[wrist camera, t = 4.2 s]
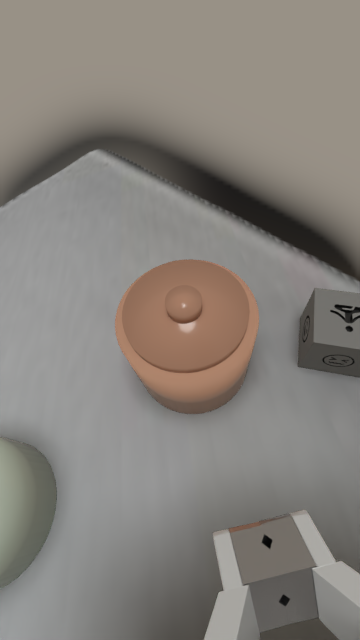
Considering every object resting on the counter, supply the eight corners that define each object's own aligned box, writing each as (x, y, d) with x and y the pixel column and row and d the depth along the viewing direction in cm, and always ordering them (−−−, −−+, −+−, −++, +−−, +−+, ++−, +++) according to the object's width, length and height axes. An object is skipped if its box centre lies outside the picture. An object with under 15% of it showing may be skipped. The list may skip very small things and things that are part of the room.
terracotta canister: (264, 336, 28) (285, 269, 20) (218, 436, 24) (221, 404, 16) (172, 299, 31) (157, 227, 23) (119, 382, 27) (76, 332, 19)
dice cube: (356, 327, 28) (382, 296, 23) (359, 377, 25) (388, 353, 21) (300, 318, 29) (314, 287, 24) (297, 366, 26) (313, 342, 22)
